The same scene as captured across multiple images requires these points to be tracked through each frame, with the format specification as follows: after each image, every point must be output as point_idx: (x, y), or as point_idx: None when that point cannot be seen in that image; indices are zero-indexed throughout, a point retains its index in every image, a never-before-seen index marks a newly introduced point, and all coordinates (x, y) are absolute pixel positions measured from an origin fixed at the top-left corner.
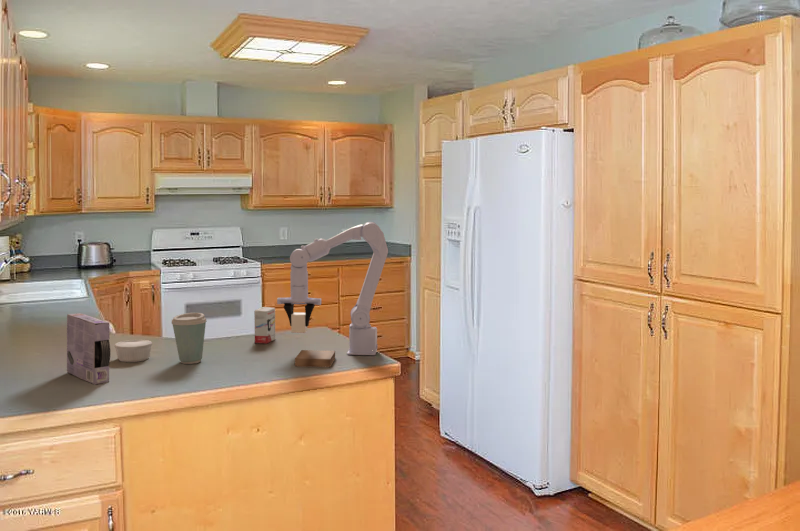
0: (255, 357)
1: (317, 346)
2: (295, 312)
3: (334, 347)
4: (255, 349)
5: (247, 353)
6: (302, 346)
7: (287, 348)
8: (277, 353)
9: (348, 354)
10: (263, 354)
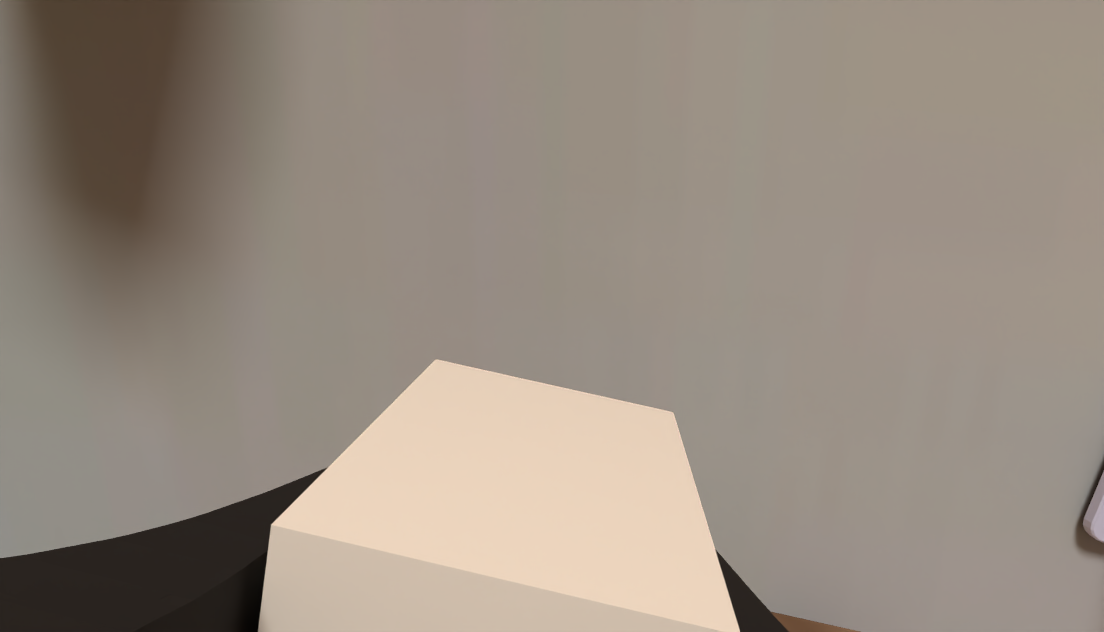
0: (136, 497)
1: (788, 46)
2: (318, 547)
3: (1004, 124)
4: (67, 149)
5: (27, 327)
6: (595, 30)
7: (415, 129)
8: (325, 362)
9: (1099, 537)
10: (190, 388)
